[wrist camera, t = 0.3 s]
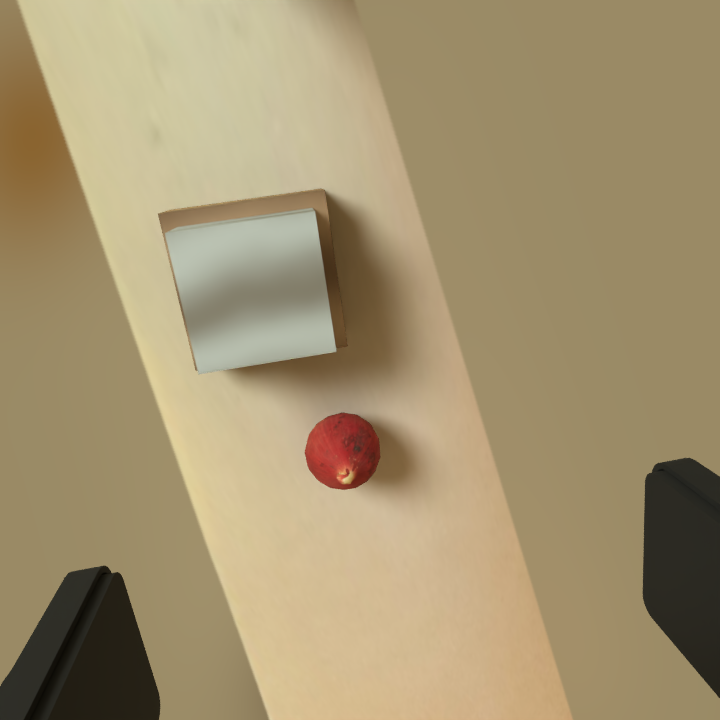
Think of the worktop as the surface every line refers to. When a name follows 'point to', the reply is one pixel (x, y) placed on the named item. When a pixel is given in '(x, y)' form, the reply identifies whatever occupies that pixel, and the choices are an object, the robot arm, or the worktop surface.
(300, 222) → the wood and metal block
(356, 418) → the onion
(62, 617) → the robot arm
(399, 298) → the worktop surface
